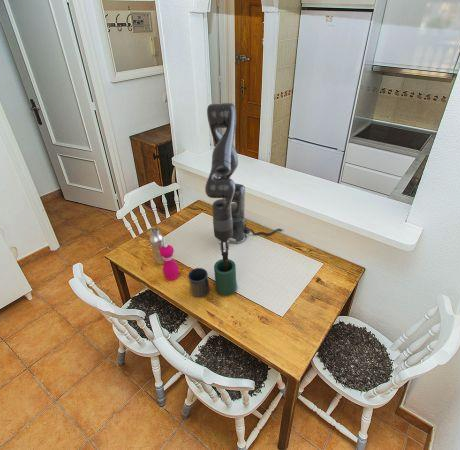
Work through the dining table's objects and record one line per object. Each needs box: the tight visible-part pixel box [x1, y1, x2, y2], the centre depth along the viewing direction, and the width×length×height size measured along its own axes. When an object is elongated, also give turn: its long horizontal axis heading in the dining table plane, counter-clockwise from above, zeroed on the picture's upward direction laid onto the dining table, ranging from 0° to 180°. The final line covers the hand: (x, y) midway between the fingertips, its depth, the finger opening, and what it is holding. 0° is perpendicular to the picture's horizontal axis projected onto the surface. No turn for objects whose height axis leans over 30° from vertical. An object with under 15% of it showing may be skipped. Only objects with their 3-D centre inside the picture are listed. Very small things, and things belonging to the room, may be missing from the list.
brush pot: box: [187, 267, 210, 298], centre depth 141 cm, size 8×8×10 cm
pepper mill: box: [160, 243, 180, 282], centre depth 145 cm, size 7×7×20 cm
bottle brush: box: [224, 260, 228, 272], centre depth 135 cm, size 4×4×22 cm
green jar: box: [213, 258, 237, 297], centre depth 140 cm, size 9×9×14 cm
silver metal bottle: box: [148, 227, 165, 265], centre depth 153 cm, size 6×7×20 cm
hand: (225, 257), depth 133 cm, fingers closed on bottle brush
